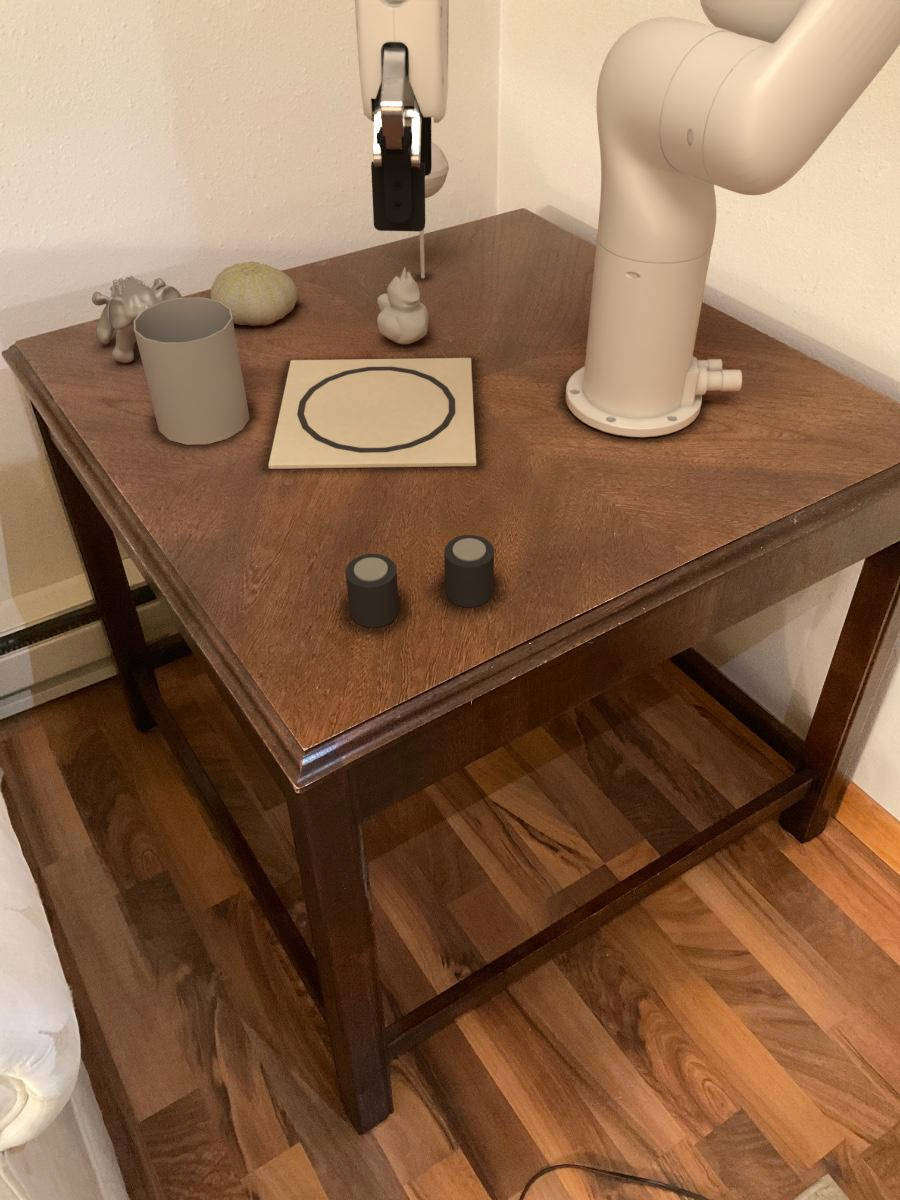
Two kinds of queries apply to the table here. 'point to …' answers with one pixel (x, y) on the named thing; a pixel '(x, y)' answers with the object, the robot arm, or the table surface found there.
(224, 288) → the sea urchin shell
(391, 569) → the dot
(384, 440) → the board
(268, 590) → the table surface
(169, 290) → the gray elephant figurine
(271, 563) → the table surface
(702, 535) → the table surface
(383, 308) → the rubber duck
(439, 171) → the lollipop
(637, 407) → the robot arm
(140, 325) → the cup
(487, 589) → the black cylinder
